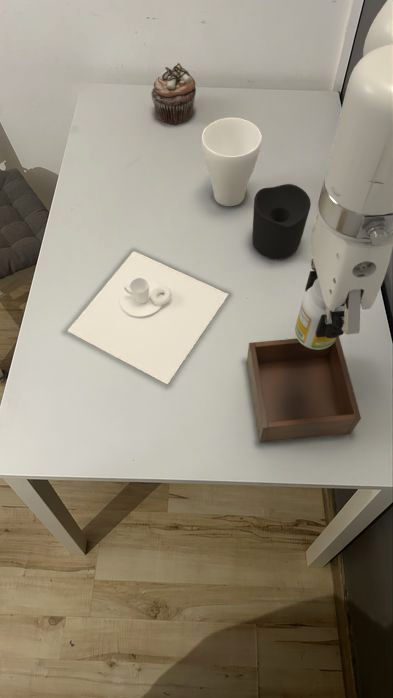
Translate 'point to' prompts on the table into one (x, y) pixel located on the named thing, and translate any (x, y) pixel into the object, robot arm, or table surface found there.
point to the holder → (300, 390)
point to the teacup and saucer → (149, 316)
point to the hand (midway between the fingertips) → (323, 311)
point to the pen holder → (279, 220)
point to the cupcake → (174, 95)
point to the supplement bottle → (312, 319)
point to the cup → (230, 157)
